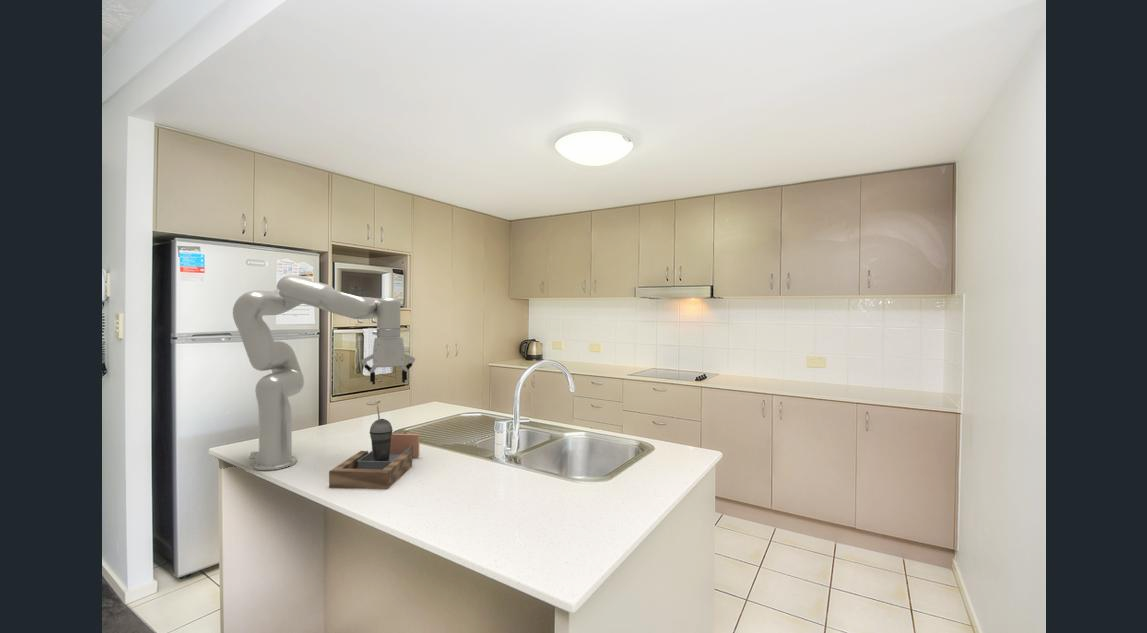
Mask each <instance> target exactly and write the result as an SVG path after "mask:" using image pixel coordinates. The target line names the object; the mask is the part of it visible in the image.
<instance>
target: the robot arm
mask: <svg viewBox="0 0 1147 633" xmlns="http://www.w3.org/2000/svg"><path fill="white" fill-rule="evenodd" d="M302 304H303V305H306V306H311V307H314V308H317V309H320V310H323V311H327V312H329V313H331V314H335V315H337V316H338V315H339V316H342V317H345V318H349V319H353V320H371V319H372V320H373V319H376V329H374V330H372V335H375V336H376V337H374V341H373V349H372V354H371V355H368V356H366V357H365V358H363V359H361V364H362V365H363V367H364V369H365V370H367V371H368V372H369V375H370V377H369V378H370V380H369V383H372V386H373V385H375V384H376V372H375V371H376V370H377V368H398V367H401V369H402V372H401V382H402V383H403V384H405V383H406V381H407V379H408V378H407V377H408V371H409V370H410V368H412V367H413V364H414V363H415V361H416V359H415V357H414V356H411V355H409V354H407V353H405V343H404V342H405V341H404V338H403V337H401V300H400V299H398V298H396V297H395V298H394V297H382V298H377V297H369V296H368V297H367V296H357V295H354V294H350V293H345V292H343V291H339V290H336V289H335V288H334V287H333V286H332V285H330V284H327V283H323V282H320V281H319V282H318V281H315V280H312V279H311V278H309V277H307V276H300V275H291V274H290V275H286V276H283V277H281V278H280V279H279V280H278V282H277V284H276V289H275V290H273V291H272V290H270V291H269V290H251V291H248V292H244V293H243V294H241V296H239V297H238V298H237V299H236V301H235V303H234V305H233V308H232V318H233V321H234V324H235V326H236V328H237V330H238V333H239V335H240V337H241V342H242V344H243V347H244V349H245V353H246V355H247V357H248V360H249V363H250V365H251V367H252V368H253V369H255V370H256V371H260V372H264V371H266V372H267V371H270V370H271V373H268V374H266V375H264V376H262V377H261V378H260V379H259V380H258V381H257V382H256V385H255V397H256V401H257V408H258V451H251V452H250V454H249V455H248V459H249V460H255V462H254V463H253V469H255V471H275V469H276V470H281V468H282V469H285V467H286V468H288V466H289V467H291V466H293V465H296V463H297V461H298V458H297V457H296V456H293V455H292V454H293V450H292V449H293V448H292V444H293V442H292V441H293V439H292V436H293V434H292V430H293V429H292V424H293V423H292V421H293V420H292V418H293V417H292V407H291V403H290V401H289V400H290V399H289V398H290V397H293V396H295V395H296V394H298V393H300V392H301V391H302V390H303V388H304V385H305V379H304V375H303V372H302V369H301V366H300V364H299V361H298V359H297V358H298V357H297V356H296V353H295V351H294V349H293V347H291V345H290V344H288V343H287V342H284V341H280V340H279V341H275V340H274V338H273V335H272V332H271V329H270V327H269V326H268V324H267V322H265V321H264V319H263V317H264V316H278V315H282V314H284V313H286V312H288V311H291V310H292V309H294V308H296V307H298V306H300V305H302ZM406 359H407V360H409V362H408V363H407V364H406V363H405V362H406V361H405V360H406ZM371 360H372V364H373V365H372V366H370V365H368V362H369V361H371ZM405 364H406V365H405Z"/></svg>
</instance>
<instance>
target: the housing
mask: <svg viewBox="0 0 1147 633" xmlns="http://www.w3.org/2000/svg"><path fill="white" fill-rule="evenodd" d="M368 453H369V451H368V450H360V451H358V452H357V453H355V454H354V455H352V456H350V457H349V458H348V459H345V460H344V461H343V462H342V463H340V464H338V465H337V466H335V467H334V468H332V469H331V470H329V472H328V482H329V483H328V487H329V489H331V488H332V489H364V488H368V489H367V490H369V489H371V488H372V489H373V490H375V489H376V490H388V489H389V488H390V487H391V486H393V484H394V483H396V482H397V481H398V480H399V479H400V478H401V477H402V476H403V475H404V474H405V473H406V472H408V471H409V470H410V469H411V468H413V457H412V452H404V453H403V454H401V455H400V456H399V457H398V458H396V459H395V460H394V461H393V462H391V463H390V464H389V465H388V466H386V467H385V468H384V469H383V470H381V469H356V461H357V460H359V459H360V458H362V457H363V456H365V455H366V454H368ZM409 468H410V469H409ZM407 470H408V471H407ZM372 489H371V490H372Z"/></svg>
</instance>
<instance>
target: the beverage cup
mask: <svg viewBox="0 0 1147 633" xmlns="http://www.w3.org/2000/svg"><path fill="white" fill-rule="evenodd" d="M376 409H377V410H376V411H377V417H378V419H376V420H375V421H373V422H372V423H371V426H370V430H369V437H370V440H371V449H372V450H371V451H372V452H373V461H389V455H390V444H391V436H392V434H393V432H394V430H393V426H392V424H391V422H390V420H388V419H385V418H381V417H380V408H379V405H377V406H376Z"/></svg>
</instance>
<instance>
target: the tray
mask: <svg viewBox="0 0 1147 633" xmlns="http://www.w3.org/2000/svg"><path fill="white" fill-rule="evenodd" d="M404 452H412V458H419V457H420V434H419V433H392V436H391V444H390V455H389V461H373V452H372V450H371V451H368V454H366V455H365V456H363V457H362V458H360V459H359V460H357V461H356V469H381V470H383V469H384V468H385V467H386V466H388V465H389V464H390V463H391V462H393V461H394V460H395V459H396V458H398V457H399V456H400V455H401V454H403V453H404Z"/></svg>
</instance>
